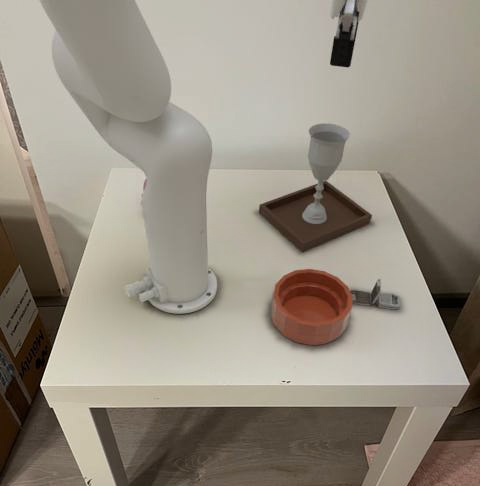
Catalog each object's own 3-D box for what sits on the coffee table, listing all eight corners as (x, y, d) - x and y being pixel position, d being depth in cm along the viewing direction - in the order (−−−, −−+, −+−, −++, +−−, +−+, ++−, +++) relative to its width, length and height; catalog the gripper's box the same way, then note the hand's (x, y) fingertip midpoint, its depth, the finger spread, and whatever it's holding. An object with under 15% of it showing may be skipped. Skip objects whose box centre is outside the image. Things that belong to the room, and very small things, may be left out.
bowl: (302, 357, 76) (306, 337, 72) (256, 307, 83) (258, 286, 79) (362, 325, 80) (369, 305, 77) (314, 280, 87) (318, 259, 84)
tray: (302, 252, 92) (303, 243, 91) (258, 213, 100) (259, 204, 99) (369, 223, 99) (372, 215, 98) (324, 188, 107) (325, 180, 106)
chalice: (331, 208, 102) (349, 125, 88) (332, 228, 97) (351, 143, 84) (297, 205, 102) (308, 122, 88) (296, 224, 97) (308, 140, 84)
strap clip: (398, 298, 85) (404, 280, 82) (398, 310, 83) (406, 293, 80) (349, 291, 86) (354, 273, 83) (348, 303, 84) (354, 285, 81)
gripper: (343, -93, 73) (325, 34, 85) (332, -70, 61) (313, 72, 74) (394, -89, 72) (368, 38, 84) (392, -65, 60) (362, 78, 73)
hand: (342, 54), depth 79 cm, fingers open, 9 cm apart
